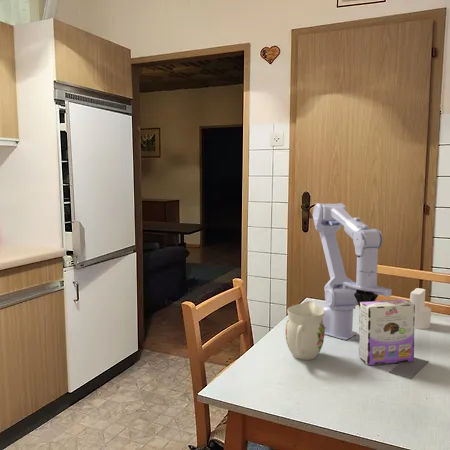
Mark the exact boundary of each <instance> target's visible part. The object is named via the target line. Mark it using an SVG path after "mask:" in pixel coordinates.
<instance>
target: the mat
mask: <svg viewBox="0 0 450 450" xmlns="http://www.w3.org/2000/svg"><path fill="white" fill-rule="evenodd" d="M428 363H429V360H426V359H422V358H418V357H415V356H414V361H409V362H398V363H397V364H396V365H395V366H394V367H393V368H392V369H390V370H389V371H388V373H389V374H393V375H398V376H400V377H403V378H407V379H410V380H411V379H413V378H414V377H415V376H416V375H417V374H418V373H419V371H421V370H422V369H423V368H424V367H425V366H426V365H427V364H428Z"/></svg>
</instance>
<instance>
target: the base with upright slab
mask: <svg viewBox="0 0 450 450" xmlns="http://www.w3.org/2000/svg"><path fill="white" fill-rule="evenodd" d="M426 290H427V289H424V288H421V287H420V288H419V287H418V288H417V287H415V289H414V290H412V291H411V292H410V296H409V302H411V303H413V304H415V321H414V330H415V329H416V330H427V329H429V328H431V318H432V309H431V307H428V306H426V305H425V304H426V303H425V302H426Z"/></svg>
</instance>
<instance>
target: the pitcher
mask: <svg viewBox="0 0 450 450" xmlns="http://www.w3.org/2000/svg"><path fill="white" fill-rule="evenodd" d="M287 316H288V319H287V322H286V325H285V340H286V344H287V347H288V350H289V351H290V353H291V355H292V356H293V357H294V358H295V359H297V360H298V359H299V360H305V361H306V360H307V361H310V360H313V359H316V357H318V355H319V353H320V352H321V350H322V348H323V345H324V340H325V330H324V324H323V321H322V320H323V316H324V310H323V308H322V307H320V306H319V305H318V304H316V303H315V302H314V301H312V300H311V301H309V300H307V301H303V302H301V303H298V304H293V305H291V306H289V307H288V308H287Z"/></svg>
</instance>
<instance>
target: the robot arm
mask: <svg viewBox="0 0 450 450" xmlns="http://www.w3.org/2000/svg"><path fill="white" fill-rule="evenodd" d="M312 219H313V223H314V224H313V225H314V226H315V230H316V231H317V232H318V233H319V237H320V241H321V245H322V249H323V252H324V253H323V254H324V257H325V261H326V266H327V269H328V270H327V271H328V275H329V278H330V279H329V280H328V282H326V283H325V285H324V287H323V288H324V301H325V304H326V305H324V307H323V308H322V309H323V310H324V316H323V320H322V321H323V324H324V330H325V335H326V336H330V337H333V338H337V339H341V340H345V341H346V340H350V339H351V338H352V337H354V336H355V335H358V332H356V331H353V321H354V310H355V309H356V307H357V306H359V307H358V308H360V302H372V301H377V298H378V297H379V296H384V297H385V298H388V297H389V298H390V297H392V290H393V289H391V288H387V287H384V286H379V285H378V261H379V259H378V256H379V249H381V247H382V245H383V234H382V232H381V231H380V230H379V229H378V228H370V227H369V225H367V224H366V223H364V222H363V221H362V220H361V219H362V218H360V217H352V216H351V215H350V214H349V213H348V212H347V206H346V205H345V204H344V203H342V202H340V203H320V202H317V203H316V204H315V205H314V207H313V210H312ZM342 226H343V230H344V232H345V233H346V234H347V235H348V236H349V238H351V239H352V241H353V247H354V253H355V255H356V277H355V278H356V281H354V280H353V279H351V278H349V277H348V276H347V274H346V270H345V266H344V263H343V260H342V259H343V258H342V255H341V251H340V248H339V244H338V243H339V242H338V239H337V235H336V233H337V232H338V231H339V230H341V229H342ZM325 335H324V336H325Z"/></svg>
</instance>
